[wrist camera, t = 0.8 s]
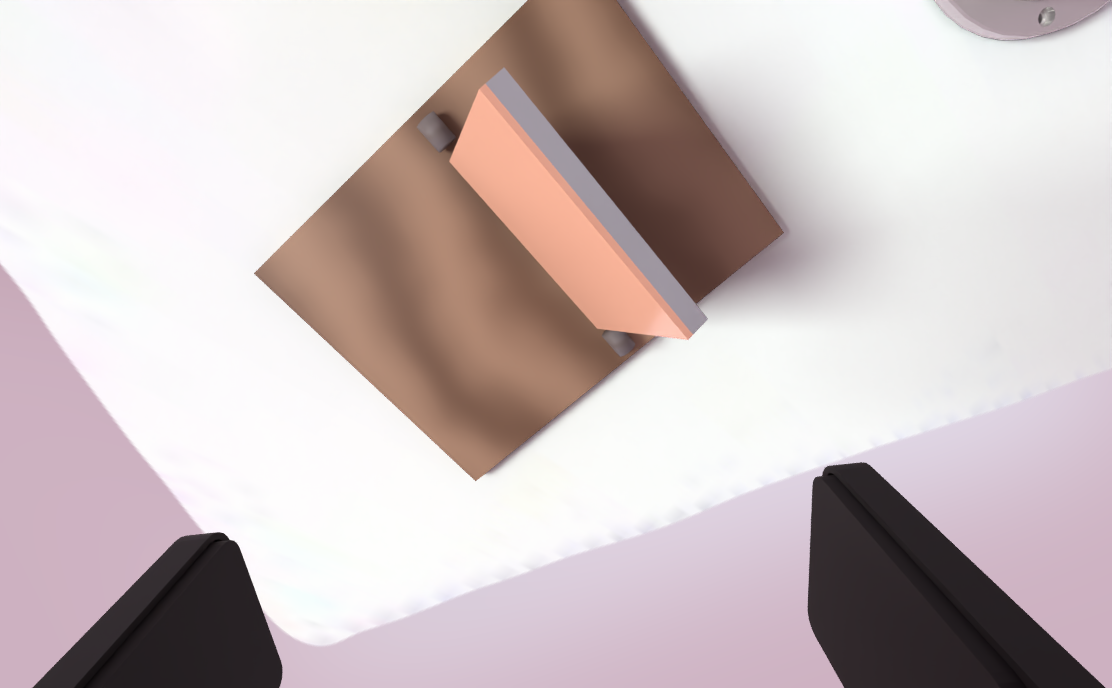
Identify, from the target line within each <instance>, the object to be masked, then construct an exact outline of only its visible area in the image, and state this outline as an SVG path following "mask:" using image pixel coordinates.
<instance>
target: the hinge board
mask: <svg viewBox="0 0 1112 688" xmlns="http://www.w3.org/2000/svg"><path fill="white" fill-rule="evenodd" d="M503 68H505V69H506V70H507V71H508V73H509V74H510V75H511V76H512V78H513V79H514V80H515V81H516V82H517V84H518V85H519V86H520V87H521V89H522V90H523V91H524V92H525V94H526V95H527V96H528V97H529V99H530V100H531V101H532V102H533V103H534V105H535V106H536V107H537V108H538V110H539V111H540V112H541V113H542V115H543V116H544V117H545V118H546V120H547V121H548V122H549V123H550V124H551V126H552V127H553V128H554V129H555V131H556V132H557V133H558V134H559V136H560V137H561V138H562V139H563V141H564V142H565V143H566V144H567V146H568V147H569V148H570V149H571V150H572V152H573V153H574V154H575V155H576V157H577V158H578V159H579V160H580V162H581V163H582V164H583V165H584V167H585V168H586V169H587V170H588V171H589V173H590V174H591V175H592V176H593V178H594V179H595V180H596V181H597V183H598V184H599V185H600V186H601V188H602V189H603V190H604V191H605V192H606V194H607V195H608V196H609V197H610V199H611V200H612V201H613V202H614V204H615V205H616V206H617V207H618V209H619V210H620V211H621V212H622V213H623V215H624V216H625V217H626V218H627V220H628V221H629V222H630V223H631V225H632V226H633V227H634V228H635V230H636V231H637V232H638V233H639V234H640V236H641V237H642V238H643V239H644V241H645V242H646V243H647V244H648V246H649V247H650V248H651V249H652V251H653V252H654V253H655V254H656V256H657V257H658V258H659V259H660V260H661V262H662V263H663V264H664V265H665V267H666V268H667V269H668V270H669V272H670V273H671V274H672V275H673V277H674V278H675V279H676V280H677V281H678V283H679V284H680V285H681V286H682V288H683V289H684V290H685V291H686V293H687V294H688V295H689V296H690V298H691V299H692V300H693V301H694V302H695V304H696V303H697V302H698V301H700V300H701V299H702V298H703V297H705V296H706V295H707V294H708V293H710V292H711V291H712V290H713V289H715V288H716V287H717V286H718V285H720V284H721V283H722V282H723V281H725V280H726V279H727V278H728V277H729V276H731V275H732V274H733V273H734V272H736V271H737V270H738V269H739V268H741V267H742V266H743V265H744V264H746V263H747V262H748V261H749V260H751V259H752V258H753V257H754V256H756V255H757V254H758V253H759V252H760V251H762V250H763V249H764V248H765V247H767V246H768V245H769V244H770V243H772V242H773V241H774V240H775V239H777V238H778V237H779V236H780V235H782V234H783V233H784V232H783V231H782V229H781V228H780V227H779V225H778V224H777V223H776V221H775V220H774V218H773V217H772V216H771V214H770V213H769V211H768V210H767V209H766V207H765V206H764V204H763V203H762V202H761V200H760V199H759V198H758V196H757V195H756V193H755V192H754V191H753V189H752V188H751V186H750V185H749V184H748V182H747V181H746V180H745V178H744V177H743V175H742V174H741V173H740V171H739V170H738V168H737V167H736V166H735V164H734V163H733V161H732V160H731V159H730V157H729V156H728V155H727V153H726V152H725V150H724V149H723V148H722V146H721V145H720V143H719V142H718V141H717V139H716V138H715V137H714V135H713V134H712V132H711V131H710V130H709V128H708V127H707V125H706V124H705V123H704V121H703V120H702V118H701V117H700V116H699V114H698V113H697V112H696V110H695V109H694V107H693V106H692V105H691V103H690V102H689V100H688V99H687V98H686V96H685V95H684V94H683V92H682V91H681V89H680V88H679V87H678V85H677V84H676V82H675V81H674V80H673V78H672V77H671V75H670V74H669V73H668V71H667V70H666V69H665V67H664V66H663V64H662V63H661V62H660V60H659V59H658V57H657V56H656V55H655V53H654V52H653V51H652V49H651V48H650V46H649V45H648V44H647V42H646V41H645V39H644V38H643V37H642V35H641V34H640V32H639V31H638V30H637V28H636V27H635V26H634V24H633V23H632V21H631V20H630V19H629V17H628V16H627V14H626V13H625V12H624V10H623V9H622V8H621V6H620V5H619V3H618V2H617V1H616V0H528V1H527V2H526V3H525V4H524V5H523V6H522V7H521V8H520V9H519V10H518V11H517V12H516V13H515V14H514V15H513V16H512V17H511V18H510V19H509V20H508V21H507V22H506V23H505V24H504V25H503V26H502V27H501V28H500V29H499V30H498V31H497V32H496V33H495V34H494V35H493V36H492V37H491V38H490V39H489V40H488V41H487V42H486V43H485V44H484V45H483V46H482V47H481V48H480V49H479V50H478V51H477V52H476V53H475V54H474V55H473V56H472V57H471V58H470V59H469V60H468V61H467V62H466V63H464V64H463V65H462V66H461V67H460V68H459V69H458V70H457V71H456V72H455V73H454V74H453V75H452V76H451V77H450V78H449V79H448V80H447V81H446V82H445V83H444V84H443V85H442V86H441V87H440V88H439V89H438V90H437V91H436V92H435V93H434V94H433V95H432V96H431V97H430V98H429V99H428V100H427V101H426V102H425V103H424V104H423V105H422V106H421V107H420V108H419V109H418V110H417V111H416V112H415V113H414V114H413V115H412V116H411V117H410V118H409V119H408V120H407V121H406V122H405V123H404V124H403V125H402V126H401V127H400V128H399V129H398V130H397V131H396V132H395V133H394V134H393V135H392V136H391V137H390V138H389V139H388V140H387V141H386V142H385V143H384V144H383V145H382V146H381V147H380V148H379V149H378V150H377V151H376V152H375V153H374V154H373V155H372V156H371V157H370V158H369V159H368V160H367V161H366V162H365V163H364V164H363V165H362V166H361V167H360V168H359V169H358V170H357V171H356V172H355V173H354V174H353V175H352V176H351V177H350V178H349V179H348V180H347V181H346V182H345V183H344V184H343V185H342V186H341V187H340V188H339V189H338V190H337V191H336V192H335V193H334V194H333V195H332V196H331V197H330V198H329V199H328V200H327V201H326V202H325V203H324V204H323V205H322V206H321V207H320V208H319V209H318V210H317V211H316V212H315V213H314V214H313V215H312V216H311V217H310V218H309V219H308V220H307V221H306V222H305V223H304V224H303V225H302V226H301V227H300V228H299V229H298V230H297V231H296V232H295V233H294V234H293V235H292V236H291V237H290V238H289V239H288V240H287V241H286V242H285V243H284V244H283V245H282V246H281V247H280V248H279V249H278V250H277V251H276V252H275V253H274V254H273V255H272V256H271V257H270V258H269V259H268V260H267V261H266V262H265V263H264V264H263V265H262V266H261V267H260V268H259V269H258V270H257V271H256V272H255V273H254V274H255V275H256V276H257V277H258V278H259V279H260V280H262V281H263V282H264V283H265V284H266V285H267V286H268V287H269V288H270V289H271V290H272V291H273V292H274V293H275V294H276V295H278V296H279V297H280V298H281V299H282V300H283V301H284V302H285V303H286V304H287V305H288V306H289V307H290V308H291V309H292V310H294V311H295V312H296V313H297V314H298V315H299V316H300V317H301V318H302V319H303V320H304V321H305V322H306V323H307V324H308V325H310V326H311V327H312V328H313V329H314V330H315V331H316V332H317V333H318V334H319V335H320V336H321V337H322V338H323V339H324V340H326V341H327V342H328V343H329V344H330V345H331V346H332V347H333V348H334V349H335V350H336V351H337V352H338V353H339V354H340V355H342V356H343V357H344V358H345V359H346V360H347V361H348V362H349V363H350V364H351V365H352V366H353V367H354V368H355V369H356V370H358V371H359V372H360V373H361V374H362V375H363V376H364V377H365V378H366V379H367V380H368V381H369V382H370V383H371V384H373V385H374V386H375V387H376V388H377V389H378V390H379V391H380V392H381V393H382V394H383V395H384V396H385V397H386V398H387V399H389V400H390V401H391V402H392V403H393V404H394V405H395V406H396V407H397V408H398V409H399V410H400V411H401V412H402V413H403V414H405V415H406V416H407V417H408V418H409V419H410V420H411V421H412V422H413V423H414V424H415V425H416V426H417V427H418V428H419V429H421V430H422V431H423V432H424V433H425V434H426V435H427V436H428V437H429V438H430V439H431V440H432V441H433V442H434V443H435V444H437V445H438V446H439V447H440V448H441V449H442V450H443V451H444V452H445V453H446V454H447V455H448V456H449V457H450V458H451V459H453V460H454V461H455V462H456V463H457V464H458V465H459V466H460V467H461V468H462V469H463V470H464V471H465V472H466V473H468V474H469V475H470V476H471V477H472V478H473V479H474V480H475V481H477V480H478V479H479V478H480V477H482V476H483V475H484V474H485V473H486V472H488V471H489V470H490V469H491V468H493V467H494V466H495V465H496V464H498V463H499V462H500V461H501V460H503V459H504V458H505V457H506V456H508V455H509V454H510V453H511V452H513V451H514V450H515V449H516V448H517V447H519V446H520V445H521V444H522V443H524V442H525V441H526V440H527V439H529V438H530V437H531V436H532V435H534V434H535V433H536V432H537V431H539V430H540V429H541V428H542V427H544V426H545V425H546V424H547V423H548V422H550V421H551V420H552V419H553V418H555V417H556V416H557V415H558V414H560V413H561V412H562V411H563V410H565V409H566V408H567V407H568V406H570V405H571V404H572V403H573V402H575V401H576V400H577V399H578V398H579V397H581V396H582V395H583V394H584V393H586V392H587V391H588V390H589V389H591V388H592V387H593V386H594V385H596V384H597V383H598V382H599V381H601V380H602V379H603V378H604V377H605V376H607V375H608V374H609V373H610V372H612V371H613V370H614V369H615V368H617V367H618V366H619V365H620V364H622V363H623V362H624V361H625V360H627V359H628V358H629V357H630V356H632V355H633V354H634V353H635V352H636V351H638V350H639V349H640V348H641V347H643V346H644V345H645V344H646V343H648V342H649V341H650V340H651V339H653V338H654V337H655V336H653V335H645V334H637V333H628V332H620V331H612V330H604V329H597V328H596V327H595V326H594V325H593V323H592V322H591V321H590V320H589V319H588V318H587V317H586V316H585V314H584V313H583V312H582V311H581V310H580V309H579V308H578V307H577V305H576V304H575V303H574V302H573V301H572V300H571V299H570V297H569V296H568V295H567V294H566V293H565V292H564V291H563V290H562V288H561V287H560V286H559V285H558V284H557V283H556V282H555V281H554V279H553V278H552V277H551V276H550V275H549V274H548V273H547V272H546V270H545V269H544V268H543V267H542V266H541V265H540V264H539V262H538V261H537V260H536V259H535V258H534V257H533V256H532V255H531V253H530V252H529V251H528V250H527V249H526V248H525V247H524V246H523V244H522V243H521V242H520V241H519V240H518V239H517V238H516V236H515V235H514V234H513V233H512V232H511V231H510V230H509V229H508V227H507V226H506V225H505V224H504V223H503V222H502V221H501V220H500V218H499V217H498V216H497V215H496V214H495V213H494V212H493V210H492V209H491V208H490V207H489V206H488V205H487V204H486V203H485V201H484V200H483V199H482V198H481V197H480V196H479V195H478V194H477V192H476V191H475V190H474V189H473V188H472V187H471V186H470V185H469V183H468V182H467V181H466V180H465V179H464V178H463V177H462V175H461V174H460V173H459V172H458V171H457V170H456V169H455V168H454V166H453V165H452V164H451V163H450V162H449V161H450V158H451V156H452V154H453V151H454V149H455V146H456V144H457V141H458V139H459V137H460V134H461V132H462V129H463V127H464V124H465V122H466V120H467V117H468V115H469V112H470V110H471V107H472V105H473V103H474V100H475V98H476V95H477V93H478V90H479V89H480V88H481V87H482V86H483V85H484V84H485V83H487V82H488V81H489V80H490V79H491V78H492V77H494V76H495V75H496V74H497V73H498V72H499V71H500V70H502V69H503Z"/></svg>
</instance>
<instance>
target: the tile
mask: <svg viewBox="0 0 1112 688" xmlns="http://www.w3.org/2000/svg"><path fill="white" fill-rule="evenodd" d="M449 162H450V163H451V164H452V165H453V166H454V168H455V169H456V170H457V171H458V172H459V173H460V174H461V175H462V177H463V178H464V179H465V180H466V181H467V182H468V183H469V185H470V186H471V187H472V188H473V189H474V190H475V191H476V192H477V194H478V195H479V196H480V197H481V198H482V199H483V200H484V201H485V203H486V204H487V205H488V206H489V207H490V208H491V209H492V210H493V212H494V213H495V214H496V215H497V216H498V217H499V218H500V220H501V221H502V222H503V223H504V224H505V225H506V226H507V227H508V229H509V230H510V231H511V232H512V233H513V234H514V235H515V236H516V238H517V239H518V240H519V241H520V242H521V243H522V244H523V246H524V247H525V248H526V249H527V250H528V251H529V252H530V253H531V255H532V256H533V257H534V258H535V259H536V260H537V261H538V262H539V264H540V265H541V266H542V267H543V268H544V269H545V270H546V272H547V273H548V274H549V275H550V276H551V277H552V278H553V279H554V281H555V282H556V283H557V284H558V285H559V286H560V287H561V288H562V290H563V291H564V292H565V293H566V294H567V295H568V296H569V297H570V299H571V300H572V301H573V302H574V303H575V304H576V305H577V307H578V308H579V309H580V310H581V311H582V312H583V313H584V314H585V316H586V317H587V318H588V319H589V320H590V321H591V322H592V323H593V325H594V326H595V327H596V328H597V329H604V330H612V331H620V332H628V333H637V334H645V335H653V336H661V337H669V338H677V339H685V340H688V339H689V338H690V337H691V336H692V335H693V334H694V333H695V332H696V331H697V330H698V329H699V328H700V327H701V326H702V325H703V324H704V322H705V321H706V320H707V317H706V316H705V315H704V314H703V312H702V311H701V310H700V309H699V307H698V306H697V305H696V304H695V302H694V301H693V300H692V299H691V298H690V296H689V295H688V294H687V293H686V291H685V290H684V289H683V288H682V286H681V285H680V284H679V283H678V281H677V280H676V279H675V278H674V277H673V275H672V274H671V273H670V272H669V270H668V269H667V268H666V267H665V265H664V264H663V263H662V262H661V260H660V259H659V258H658V257H657V256H656V254H655V253H654V252H653V251H652V249H651V248H650V247H649V246H648V244H647V243H646V242H645V241H644V239H643V238H642V237H641V236H640V234H639V233H638V232H637V231H636V230H635V228H634V227H633V226H632V225H631V223H630V222H629V221H628V220H627V218H626V217H625V216H624V215H623V213H622V212H621V211H620V210H619V209H618V207H617V206H616V205H615V204H614V202H613V201H612V200H611V199H610V197H609V196H608V195H607V194H606V192H605V191H604V190H603V189H602V188H601V186H600V185H599V184H598V183H597V181H596V180H595V179H594V178H593V176H592V175H591V174H590V173H589V171H588V170H587V169H586V168H585V167H584V165H583V164H582V163H581V162H580V160H579V159H578V158H577V157H576V155H575V154H574V153H573V152H572V150H571V149H570V148H569V147H568V146H567V144H566V143H565V142H564V141H563V139H562V138H561V137H560V136H559V134H558V133H557V132H556V131H555V129H554V128H553V127H552V126H551V124H550V123H549V122H548V121H547V120H546V118H545V117H544V116H543V115H542V113H541V112H540V111H539V110H538V108H537V107H536V106H535V105H534V103H533V102H532V101H531V100H530V99H529V97H528V96H527V95H526V94H525V92H524V91H523V90H522V89H521V87H520V86H519V85H518V84H517V82H516V81H515V80H514V79H513V78H512V76H511V75H510V74H509V73H508V71H507V70H506V69H505V68H503V69H502V70H500V71H499V72H498V73H497V74H496V75H495V76H494V77H492V78H491V79H490V80H489V81H488V82H487V83H485V84H484V85H483V86H482V87H481V88H480V89H479V90H478V93H477V95H476V98H475V100H474V103H473V105H472V107H471V110H470V112H469V115H468V117H467V120H466V122H465V124H464V127H463V129H462V132H461V134H460V137H459V139H458V141H457V144H456V146H455V149H454V151H453V154H452V156H451V158H450V161H449Z"/></svg>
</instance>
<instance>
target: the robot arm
mask: <svg viewBox="0 0 1112 688" xmlns="http://www.w3.org/2000/svg"><path fill="white" fill-rule="evenodd" d="M934 1H935V2H936V4H937V5H938V6H939V7H940V9H941V10H942V11H943V12H944V14H945V15H946V16H948V17H949V18H950V19H951V20H953V21H954V22H955V23H957V24H958V25H959V26H960V27H962V28H964V29H966V30H968V31H970V32H973V33H975V34H977V35H979V36H982V37H988V38H993V39H999V40H1016V39H1027V38H1031V37H1036V36H1040V35H1044V34H1048V33H1052V32H1054V31H1057V30H1060V29H1063V28H1065V27H1068V26H1071V25H1074V24H1075V23H1077V22H1079V21H1081V20H1082V19H1084V18H1086V17H1088V16H1089V15H1091V14H1093V13H1095V12H1096V11H1098V10H1099V9H1100V8H1101V7H1103V6H1104V5H1105V4H1106V3H1108V2H1109V1H1110V0H934ZM808 616H809V621H810V624H811V627H812V630H813V632H814V634H815V637H816V638H817V640H818V642H819V644H820V645H821V647H822V649H823V651H824V652H825V654H826V656H827V658H828V659H829V661H830V663H831V665H832V667H833V668H834V670H835V672H836V674H837V675H838V677H839V679H840V681H841V682H842V684H843V686H844V688H1105V687H1104V686H1103V685H1102V684H1101V683H1100V682H1099V681H1098V680H1097V679H1096V678H1095V677H1094V676H1092V675H1091V674H1090V673H1089V672H1088V671H1087V670H1086V669H1085V668H1084V667H1083V666H1082V665H1081V664H1080V663H1079V662H1077V660H1076V659H1075V658H1073V657H1072V656H1071V655H1070V654H1069V653H1068V652H1067V651H1066V650H1065V649H1064V648H1063V647H1062V646H1061V645H1060V644H1059V643H1057V642H1056V641H1055V640H1054V639H1053V638H1052V637H1051V636H1050V635H1049V634H1048V633H1047V632H1046V631H1045V630H1044V629H1043V628H1042V627H1040V626H1039V625H1038V624H1037V623H1036V622H1035V621H1034V620H1033V619H1032V618H1031V617H1030V616H1029V615H1028V614H1027V613H1026V612H1025V611H1024V610H1023V609H1021V608H1020V607H1019V606H1018V605H1017V604H1016V603H1015V602H1014V601H1013V600H1012V599H1011V598H1010V597H1009V596H1008V595H1007V594H1006V593H1005V592H1004V591H1002V590H1001V589H1000V588H999V587H998V586H997V585H996V584H995V583H994V582H993V581H992V580H991V579H990V578H988V576H986V574H984V573H983V572H982V571H981V570H980V569H979V568H978V567H977V566H976V565H975V564H974V563H973V562H972V561H971V560H970V559H969V558H968V557H966V556H965V555H964V554H963V553H962V552H961V551H960V550H959V549H958V548H957V547H956V546H955V545H954V544H953V543H952V542H951V541H950V540H948V539H947V538H946V537H945V536H944V535H943V534H942V533H941V532H940V531H939V530H938V529H937V528H936V527H935V526H934V525H933V524H932V523H930V522H929V521H928V520H927V519H926V518H925V517H924V516H923V515H922V514H921V513H920V512H919V511H918V510H917V509H916V508H915V507H913V506H912V505H911V504H910V503H909V502H908V501H907V500H906V499H905V498H904V497H903V496H902V495H901V494H900V493H899V492H898V491H897V490H896V489H894V488H893V487H892V486H891V485H890V484H889V483H888V482H887V481H886V480H885V479H884V478H883V477H882V476H881V475H880V474H878V472H876V471H875V470H874V469H873V468H872V467H871V466H870V465H868V464H867V463H862V462H861V463H852V464H843V465H833V466H827V467H826V468H825V469H824V471H823V475H822V476H819V477H816V478H815V479H814V481H813V490H812V514H811V539H810V564H809V588H808ZM281 680H282V664H281V660H280V658H279V655H278V652H277V649H276V646H275V644H274V641H273V638H272V635H271V633H270V630H269V628H268V625H267V622H266V619H265V616H264V614H263V611H262V608H261V605H260V603H259V600H258V597H257V594H256V592H255V589H254V586H253V583H252V581H251V578H250V575H249V572H248V570H247V567H246V564H245V561H244V559H243V556H242V553H241V550H240V548H239V546H238V544H237V543H236V542H235V541H232V540H229V538H228V537H227V536H226V535H225V534H224V533H220V532H217V533H207V534H199V535H189V536H184V537H181V538H179V539H178V540H177V541H176V542H174V544H172V545H171V546H170V547H169V548H168V549H167V551H166V552H165V553H164V554H163V555H162V556H161V557H160V558H159V559H158V560H157V561H156V562H155V563H154V564H153V565H152V566H151V567H150V568H149V569H148V570H147V571H146V572H145V573H144V574H143V575H142V576H141V577H140V578H139V579H138V580H137V581H136V582H135V583H134V584H133V585H132V586H131V587H130V588H129V589H128V591H126V593H125V594H124V595H123V596H122V597H121V598H120V599H119V600H118V601H117V602H116V603H115V604H114V605H113V606H112V607H111V608H110V609H109V610H108V611H107V612H106V613H105V614H104V615H103V616H102V617H101V618H100V619H99V620H98V621H97V622H96V623H95V624H94V625H93V626H92V627H91V628H90V630H88V632H86V633H85V635H84V636H83V637H82V638H81V639H80V640H79V641H78V642H77V643H76V644H75V645H74V646H73V647H72V648H71V649H70V650H69V651H68V652H67V653H66V654H65V655H64V656H63V657H62V658H61V659H60V660H59V661H58V662H57V663H56V664H55V665H54V667H52V668H51V669H50V670H49V671H48V672H47V673H46V674H45V676H44V677H43V678H42V679H41V680H40V681H39V682H38V683H37V684H36V685H35V686H34V687H33V688H279V687H280V684H281Z"/></svg>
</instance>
